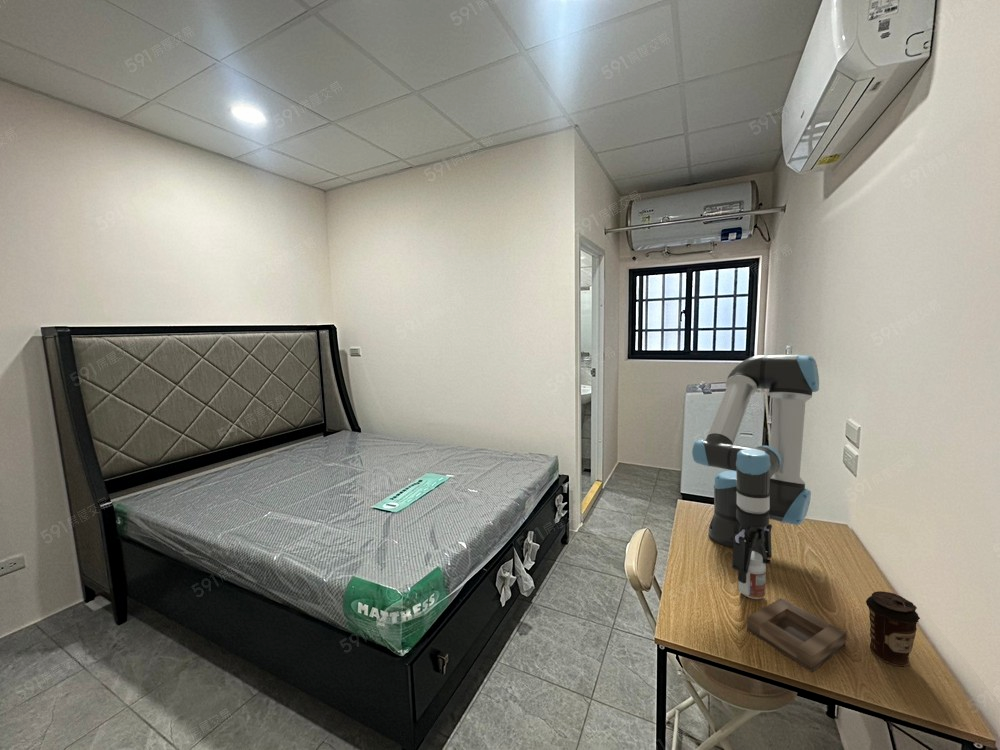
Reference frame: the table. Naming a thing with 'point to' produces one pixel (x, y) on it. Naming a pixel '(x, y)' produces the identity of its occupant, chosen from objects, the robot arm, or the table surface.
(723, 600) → the table surface
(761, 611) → the bore block
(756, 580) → the pill bottle
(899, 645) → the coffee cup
